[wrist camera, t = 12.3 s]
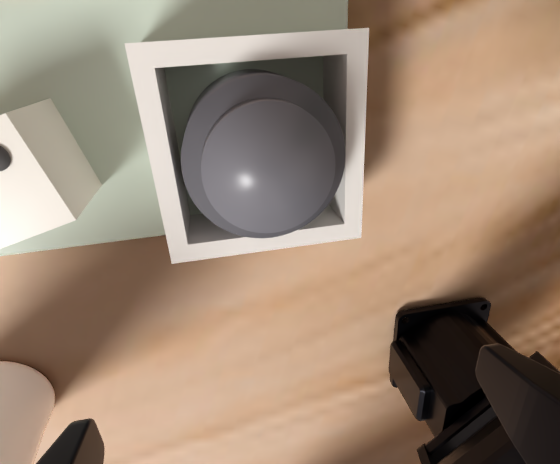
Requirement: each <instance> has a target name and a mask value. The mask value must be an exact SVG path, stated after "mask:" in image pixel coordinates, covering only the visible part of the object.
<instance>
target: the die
mask: <svg viewBox="0 0 560 464" xmlns="http://www.w3.org/2000/svg"><path fill="white" fill-rule="evenodd" d="M101 186H102V184H101V182H100V181H99V179H98V177H97V176H96V174H95V172H94V171H93V169H92V167H91V166H90V164H89V162H88V160H87V159H86V157H85V155H84V154H83V152H82V150H81V149H80V147H79V145H78V144H77V142H76V140H75V139H74V137H73V135H72V133H71V132H70V130H69V128H68V127H67V125H66V123H65V122H64V120H63V118H62V117H61V115H60V113H59V112H58V110H57V108H56V107H55V105H54V103H53V101H52V100H51V98H49V99H46V100H43V101H40V102H37V103H34V104H31V105H28V106H25V107H22V108H19V109H16V110H13V111H10V112H7V113H4V114H2V115H0V249H2V248H4V247H7V246H9V245H12V244H15V243H17V242H20V241H23V240H25V239H28V238H31V237H33V236H36V235H38V234H41V233H44V232H46V231H49V230H52V229H54V228H57V227H59V226H62V225H65V224H67V223H70V222H73V221H75V220H77V218H78V217H79V216H80V214H81V213H82V212H83V210H84V209H85V207H86V206H87V205H88V203H89V202H90V201H91V199H92V198H93V197H94V195H95V194H96V193H97V191H98V190H99V189H100V187H101Z"/></svg>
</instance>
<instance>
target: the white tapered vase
mask: <svg viewBox="0 0 560 464" xmlns="http://www.w3.org/2000/svg"><path fill="white" fill-rule="evenodd" d="M54 404H55V393H54V390H53V387H52V385H51V383H50V382H49V380H48V379H47V378H46V377H45V376H44V375H43V374H41V373H40V372H39V371H37V370H35V369H33V368H31V367H29V366H27V365H24V364H20V363H16V362H9V361H0V464H34V461H35V458H36V455H37V452H38V448H39V445H40V442H41V439H42V436H43V433H44V431H45V428H46V426H47V424H48V421H49V419H50V416H51V414H52V411H53V408H54Z"/></svg>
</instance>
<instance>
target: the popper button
mask: <svg viewBox="0 0 560 464" xmlns="http://www.w3.org/2000/svg"><path fill="white" fill-rule="evenodd" d="M345 156H346V154H345V142H344V137H343V133H342V130H341V127H340V124H339V122H338V120H337V118H336V116H335V114H334V112H333V111H332V109H331V108H330V106H329V105H328V104H327V103H326V102H325V101H324V99H323V98H322V97H320V96H319V95H318V94H317V93H316V92H315V91H313V90H312V89H310V88H309V87H307V86H305V85H304V84H302V83H299V82H297V81H295V80H292V79H290V78H287V77H284V76H282V75H279V74H276V73H273V72H270V71H266V70H260V69H244V70H238V71H234V72H231V73H228V74H226V75H224V76H222V77H220V78H218V79H217V80H215V81H214V82H212V83H211V84H210V85H209V86H208V87H206V88H205V89H204V91H203V92H202V93H201V94H200V95H199V97H198V98H197V100H196V101H195V103H194V105H193V107H192V109H191V111H190V114H189V118H188V121H187V125H186V130H185V134H184V138H183V143H182V149H181V168H182V175H183V179H184V183H185V186H186V188H187V191H188V193H189V195H190V197H191V199H192V201H193V202H194V204H195V205H196V206H197V208H198V209H199V210H200V211H201V213H202V214H203V215H204V216H205V217H206V218H207V219H209V220H210V221H211V222H213V223H214V224H215V225H217V226H219V227H220V228H222V229H224V230H226V231H228V232H230V233H233V234H236V235H240V236H243V237H249V238H273V237H278V236H282V235H286V234H289V233H292V232H294V231H296V230H298V229H300V228H302V227H304V226H305V225H307V224H309V223H310V222H311V221H313V220H314V219H315V218H316V217H317V216H318V215H319V214H320V213H322V212H323V211H324V209H325V208H326V207H327V206H328V204H329V203H330V202H331V200H332V199H333V197H334V195H335V194H336V192H337V189H338V187H339V185H340V182H341V179H342V176H343V172H344V167H345Z"/></svg>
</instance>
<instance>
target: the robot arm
mask: <svg viewBox="0 0 560 464" xmlns="http://www.w3.org/2000/svg"><path fill="white" fill-rule="evenodd" d="M490 307H491V303H490V302H489V301H488V300H487V299H486V298H475V299H469V300H463V301H457V302H451V303H445V304H439V305H433V306H427V307H421V308H415V309H409V310H403V311H400V312H399V313H398V314H397V315H396V318H395V328H394V339H393V342H392V343H391V348H390V360H389V373H390V382H391V384H392V385H393V387H396V388H397V387H398V388H399V390H400V392H401V394H402V395H403V397H404V399H405V401H406V402H407V404H408V406H409V408H410V410H411V411H412V413H413V415H414V417H415V418H416V419H417V420H419V421H424V420H425V421H426V423H427V425H428V426H429V428H430V430H431V431H432V433H433V435H434V436H435V437H434V438H433V439H432V440H431V441H430V442H428V443H427V444H423V445H422V446H421V447H419V448H418V449H417V452H418V455H419V458H420V461H421V464H560V371H559V370H558V369H556V368H555V367H554V366H553V365H552V364H551V363H550V362H549V361H548V360H546V359H545V358H544V357H543V356H542V355H541V354H540V353H539V352H537V351H536V352H535V353H534V354H533V355H532V356H530V357H529V358H528V357H526V356H524V355H522V354H520V353H518V352H517V351H516V350H515V349H514V348H513V347H512V346H510V345H509V344H508V343H507V342H506V341H505V340H504V339H503V338H502V337H501V336H500V335H499V334H498V333H497V332H496V331H495V330H494V329H493V328H492V327H491V326H490V325H489V324H488V323H487V320H488V316H489V311H490ZM405 317H406V318H405ZM403 318H405V319H403ZM402 319H403V320H402ZM103 461H104V443H103V440H102V438H101V435H100V433H99V430H98V428H97V425H96V423H95V421H94V420H93V419H84V420H78V421H74V422H72V423H71V424H69V425H68V427H67V428H66V429H65V430H64V431H63V432H62V434H61V435H60V436H59V437H58V438H57V440H56V441H55V442H54V443H53V444H52V445H51V447H50V448H49V449H48V450H47V451H46V453H45V454H44V455H43V456H42V457H41V458H40V460H39V461H38V462H37V463H36V464H103Z"/></svg>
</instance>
